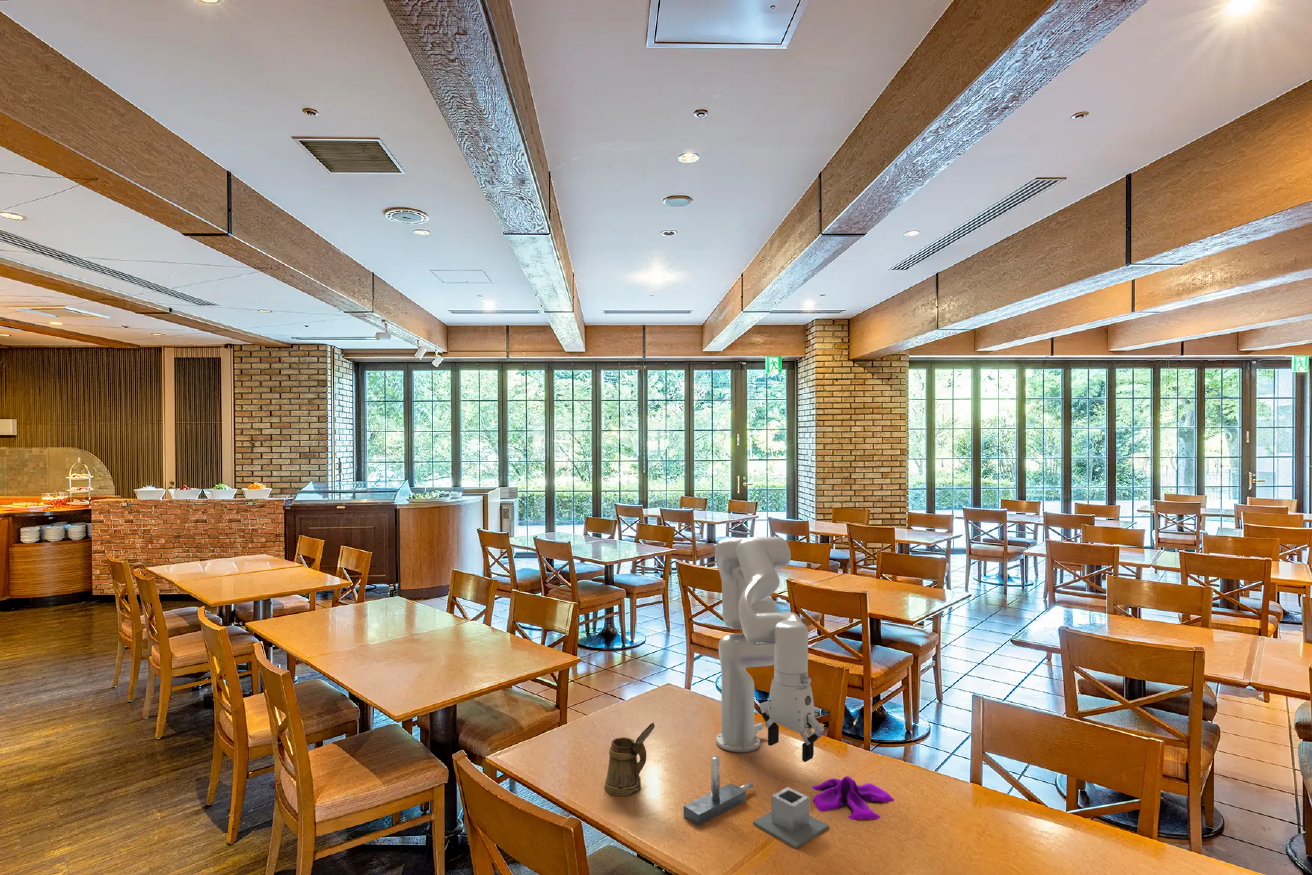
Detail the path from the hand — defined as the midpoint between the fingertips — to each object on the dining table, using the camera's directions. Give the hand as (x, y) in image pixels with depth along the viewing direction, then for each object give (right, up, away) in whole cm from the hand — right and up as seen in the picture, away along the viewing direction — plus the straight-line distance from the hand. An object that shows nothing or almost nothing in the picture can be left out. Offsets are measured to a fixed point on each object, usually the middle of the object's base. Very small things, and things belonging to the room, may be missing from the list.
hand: (790, 751), depth 148 cm
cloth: (+16, -18, +12) cm, 26 cm away
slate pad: (0, -17, -1) cm, 17 cm away
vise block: (-15, -17, +8) cm, 23 cm away
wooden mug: (-37, -17, +15) cm, 43 cm away
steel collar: (0, -16, -1) cm, 16 cm away
